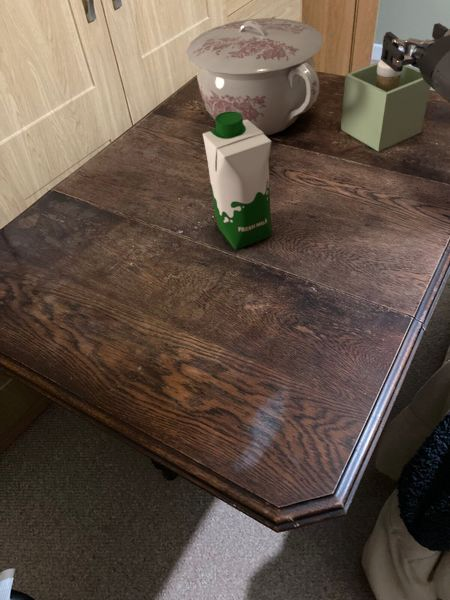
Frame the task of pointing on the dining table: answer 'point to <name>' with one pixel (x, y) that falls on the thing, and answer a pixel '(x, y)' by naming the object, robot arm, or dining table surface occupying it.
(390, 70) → the sprinkles bottle
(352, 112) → the bin
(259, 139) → the milk carton
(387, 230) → the dining table surface
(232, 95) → the chamber pot
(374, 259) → the dining table surface
